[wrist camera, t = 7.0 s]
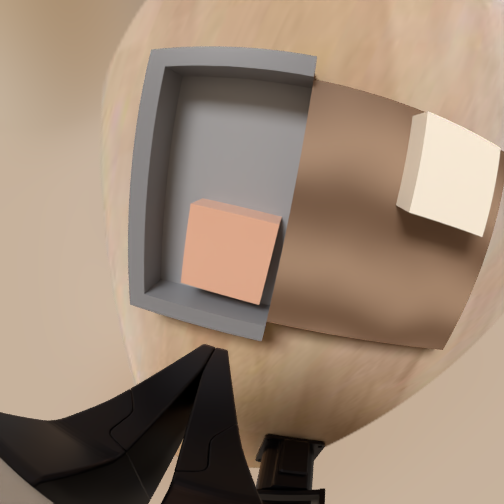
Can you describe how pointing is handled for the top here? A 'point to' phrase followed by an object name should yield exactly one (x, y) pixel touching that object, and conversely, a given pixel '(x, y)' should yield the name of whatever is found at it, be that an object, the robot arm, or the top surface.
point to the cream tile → (448, 174)
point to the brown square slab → (369, 232)
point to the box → (212, 167)
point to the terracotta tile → (229, 249)
